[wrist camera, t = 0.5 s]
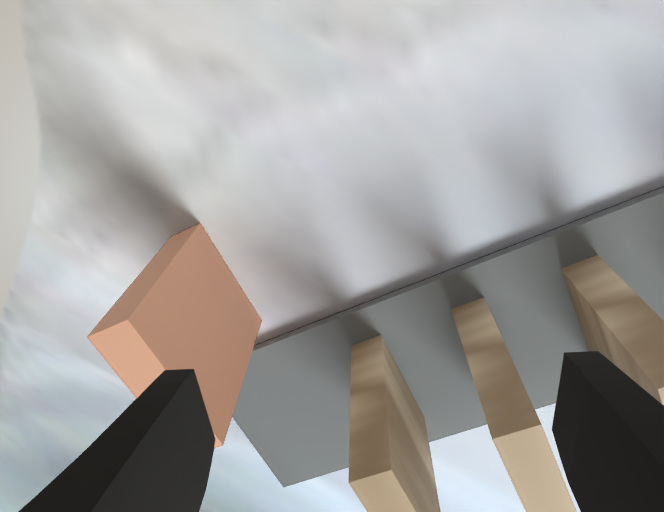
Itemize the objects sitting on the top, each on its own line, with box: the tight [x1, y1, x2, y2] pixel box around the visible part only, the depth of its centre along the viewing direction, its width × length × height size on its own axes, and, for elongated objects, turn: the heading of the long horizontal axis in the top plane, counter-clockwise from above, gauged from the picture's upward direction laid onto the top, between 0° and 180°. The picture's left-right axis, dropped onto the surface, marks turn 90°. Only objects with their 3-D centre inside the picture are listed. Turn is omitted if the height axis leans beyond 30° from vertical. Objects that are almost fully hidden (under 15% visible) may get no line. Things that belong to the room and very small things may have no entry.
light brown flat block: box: [349, 335, 440, 512], centre depth 19 cm, size 1×5×7 cm, turn 26°
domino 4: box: [561, 255, 664, 405], centre depth 17 cm, size 1×5×7 cm, turn 26°
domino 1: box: [87, 223, 262, 448], centre depth 18 cm, size 1×5×7 cm, turn 26°
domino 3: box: [451, 297, 577, 512], centre depth 18 cm, size 1×5×7 cm, turn 26°
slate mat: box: [232, 187, 664, 487], centre depth 22 cm, size 24×8×1 cm, turn 116°
